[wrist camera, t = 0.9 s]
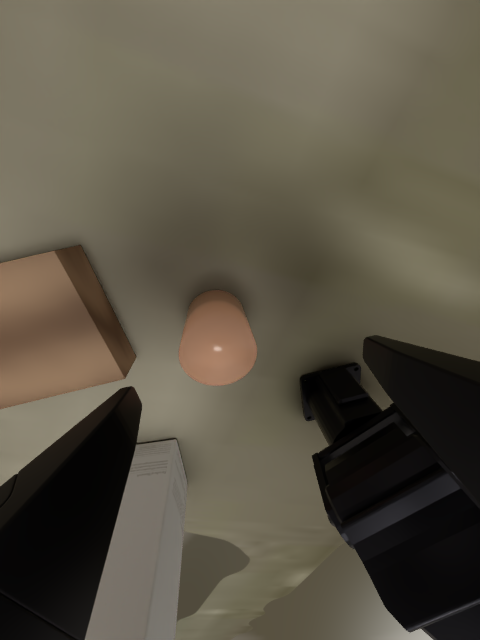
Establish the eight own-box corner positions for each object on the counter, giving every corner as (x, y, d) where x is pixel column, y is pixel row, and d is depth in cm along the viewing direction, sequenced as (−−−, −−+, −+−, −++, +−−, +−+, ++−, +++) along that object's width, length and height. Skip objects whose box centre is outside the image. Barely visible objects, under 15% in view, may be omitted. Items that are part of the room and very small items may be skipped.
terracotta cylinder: (248, 334, 21) (262, 375, 15) (196, 347, 21) (192, 393, 15) (237, 283, 19) (249, 311, 13) (179, 297, 19) (167, 330, 13)
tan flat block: (136, 357, 20) (125, 378, 18) (27, 383, 20) (-1, 409, 17) (80, 245, 16) (54, 250, 13) (-60, 276, 16) (-115, 289, 13)
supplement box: (94, 447, 24) (-48, 732, 11) (177, 436, 25) (140, 687, 12) (117, 495, 28) (33, 748, 15) (188, 483, 29) (171, 714, 16)
